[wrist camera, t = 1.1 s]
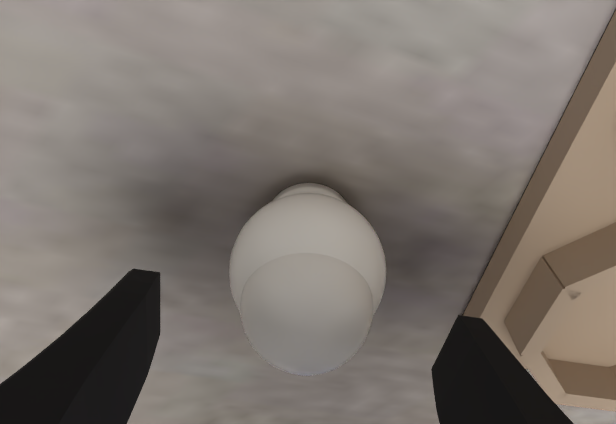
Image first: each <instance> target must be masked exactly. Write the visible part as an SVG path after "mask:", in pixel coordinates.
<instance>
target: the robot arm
mask: <svg viewBox="0 0 616 424" xmlns="http://www.w3.org/2000/svg"><path fill="white" fill-rule="evenodd" d="M159 336H160V272H153V271H146V270H139V269H132V270H131V271H129V272H128V273H127V274H126V275H125V276H124V277H123V278H122V279H121V280H120V281H119V282H118V283H117V284H116V285H115V286H114V287H113V288H112V289H111V290H110V291H109V292H108V293H107V294H106V295H105V296H104V297H103V298H102V299H101V300H100V301H99V302H98V303H97V304H95V305H94V306H93V307H92V308H91V309H90V310H89V311H88V312H87V313H86V314H85V315H84V316H82V317H81V318H80V319H79V320H78V321H77V322H76V323H75V324H74V325H72V326H71V327H70V328H69V329H68V330H67V331H66V332H65V333H63V334H62V335H61V336H60V337H59V338H58V339H56V340H55V341H54V342H53V343H52V344H50V345H49V346H48V347H47V348H45V349H44V350H43V351H42V352H41V353H39V354H38V355H37V356H36V357H34V358H33V359H32V360H31V361H30V362H28V363H27V364H26V365H25V366H23V367H22V368H21V369H20V370H18V371H17V372H16V373H14V374H13V375H12V376H10V377H9V378H8V379H6V380H5V381H4V382H2V383H1V384H0V424H127V422H128V419H129V417H130V415H131V412H132V410H133V408H134V405H135V403H136V401H137V398H138V396H139V394H140V391H141V389H142V387H143V384H144V382H145V380H146V377H147V375H148V372H149V369H150V366H151V362H152V359H153V356H154V353H155V349H156V346H157V342H158V339H159ZM432 378H433V387H434V395H435V402H436V409H437V414H438V418H439V422H440V424H573V422H572V421H571V420H570V419H569V418H568V417H567V416H566V415H565V414H564V413H563V412H562V411H561V409H560V408H559V407H558V406H557V405H556V404H555V403H554V402H553V401H552V399H551V398H550V397H549V396H548V395H547V394H546V393H545V392H544V390H543V389H542V388H541V387H540V386H539V385H538V383H537V382H536V381H535V380H534V379H533V378H532V376H531V375H530V374H529V373H528V372H527V371H526V369H525V368H524V367H523V366H522V365H521V363H520V362H519V361H518V360H517V359H516V357H515V356H514V355H513V354H512V353H511V351H510V350H509V349H508V348H507V347H506V345H505V344H504V343H503V342H502V341H501V339H500V338H499V337H498V336H497V335H496V333H495V332H494V331H493V330H492V329H491V328H490V326H489V325H488V324H487V323H486V322H485V321H484V320H483V319H482V318H476V317H469V316H462V315H458V317H457V319H456V321H455V323H454V325H453V327H452V329H451V331H450V333H449V335H448V337H447V339H446V341H445V343H444V345H443V347H442V349H441V351H440V353H439V355H438V357H437V359H436V361H435V363H434V365H433V367H432Z"/></svg>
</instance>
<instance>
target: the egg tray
mask: <svg viewBox="0 0 616 424" xmlns="http://www.w3.org/2000/svg"><path fill="white" fill-rule="evenodd" d="M463 316H469V317H476V318H482V319H483V320H484V321H485V322H486V323H487V324H488V325H489V326H490V328H491V329H492V330H493V331H494V332H495V333H496V335H497V336H498V337H499V338H500V339H501V341H502V342H503V343H504V344H505V345H506V347H507V348H508V349H509V350H510V351H511V353H512V354H513V355H514V356H515V357H516V359H517V360H518V361H519V362H520V363H521V365H522V366H523V367H524V368H525V369H529V370H530V372H531V373H532V375H533V376H534V378H535V379H536V381H537V382H538V384H539V385H540V387H541V388H542V389H543V390H544V392H545V393H546V394H547V395H548V396H549V397H550V398H551V399H552V401H553V402H554V403H555V404H561V405H568V406H576V407H584V408H591V409H599V410H607V411H615V412H616V11H615V13H614V15H613V17H612V19H611V21H610V23H609V25H608V27H607V29H606V31H605V33H604V35H603V37H602V39H601V41H600V42H599V44H598V46H597V48H596V50H595V52H594V54H593V56H592V58H591V60H590V62H589V64H588V66H587V68H586V70H585V72H584V74H583V76H582V78H581V80H580V82H579V84H578V86H577V88H576V90H575V92H574V94H573V96H572V98H571V100H570V102H569V104H568V106H567V108H566V110H565V112H564V114H563V116H562V118H561V120H560V122H559V124H558V126H557V128H556V130H555V132H554V134H553V136H552V138H551V140H550V142H549V144H548V146H547V148H546V150H545V152H544V154H543V156H542V158H541V160H540V162H539V164H538V166H537V168H536V170H535V172H534V174H533V176H532V178H531V180H530V182H529V184H528V186H527V188H526V190H525V192H524V194H523V196H522V198H521V200H520V202H519V204H518V206H517V208H516V210H515V212H514V214H513V216H512V218H511V220H510V222H509V224H508V226H507V228H506V230H505V232H504V234H503V236H502V238H501V240H500V242H499V244H498V246H497V248H496V250H495V252H494V254H493V256H492V258H491V260H490V262H489V264H488V266H487V268H486V270H485V272H484V274H483V276H482V278H481V280H480V282H479V284H478V286H477V288H476V290H475V292H474V294H473V296H472V298H471V300H470V302H469V304H468V306H467V308H466V310H465V312H464V314H463Z"/></svg>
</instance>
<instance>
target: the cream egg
mask: <svg viewBox="0 0 616 424" xmlns="http://www.w3.org/2000/svg"><path fill="white" fill-rule="evenodd" d="M229 281H230V288H231V292H232V295H233V298H234V302H235V304H236V306H237V308H238V310H239V312H240V314H241V322H242V325H243V329H244V332H245V334H246V336H247V339H248V340H249V342H250V344H251V346H252V347H253V348H254V350H255V351H256V352H257V354H258V355H259V356H260V357H261V358H263V359H264V360H265V361H266V362H267V363H269V364H270V365H272V366H273V367H275V368H277V369H279V370H281V371H284V372H287V373H290V374H294V375H302V376H312V375H319V374H323V373H327V372H329V371H332V370H334V369H336V368H338V367H340V366H342V365H343V364H345V363H346V362H347V361H349V360H350V359H351V358H352V357H353V356H354V355H355V354H356V353H357V352H358V350H359V349H360V348H361V346H362V345H363V343H364V341H365V340H366V338H367V335H368V333H369V330H370V327H371V323H372V318H373V316H374V314H375V312H376V311H377V309H378V307H379V305H380V302H381V300H382V296H383V293H384V289H385V283H386V262H385V256H384V252H383V248H382V245H381V242H380V240H379V238H378V236H377V234H376V232H375V231H374V229H373V228H372V226H371V224H370V223H369V222H368V221H367V220H366V219H365V218H364V217H363V215H362V214H360V213H359V212H358V211H357V210H356V209H355V208H353V207H352V206H350V205H348V204H347V202H346V201H345V199H344V198H343V197H342V196H341V195H340V194H339V193H338V192H336V191H335V190H333V189H331V188H329V187H327V186H324V185H321V184H316V183H302V184H297V185H293V186H290V187H288V188H286V189H284V190H283V191H281V192H280V193H279V194H278V195H277V196H276V197H275V198H274V199H273V200H272V202H270V203H269V204H267V205H265V206H264V207H262V208H261V209H260V210H258V211H257V212H256V213H255V214H254V215H253V216H252V217H251V218H250V219H249V220H248V221H247V223H246V224H245V225H244V227H243V228H242V230H241V231H240V233H239V235H238V236H237V239H236V241H235V244H234V247H233V249H232V253H231V258H230V264H229Z"/></svg>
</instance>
